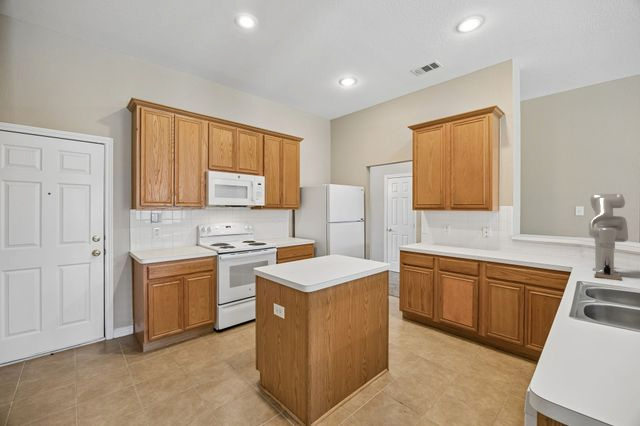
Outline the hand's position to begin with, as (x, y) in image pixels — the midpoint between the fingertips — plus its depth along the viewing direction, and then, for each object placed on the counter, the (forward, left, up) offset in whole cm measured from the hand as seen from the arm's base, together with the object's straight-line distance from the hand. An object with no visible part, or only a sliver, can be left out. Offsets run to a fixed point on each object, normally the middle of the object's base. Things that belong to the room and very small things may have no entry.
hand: (607, 273), depth 191 cm
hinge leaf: (+3, 0, -1) cm, 4 cm away
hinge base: (+15, 0, -2) cm, 15 cm away
